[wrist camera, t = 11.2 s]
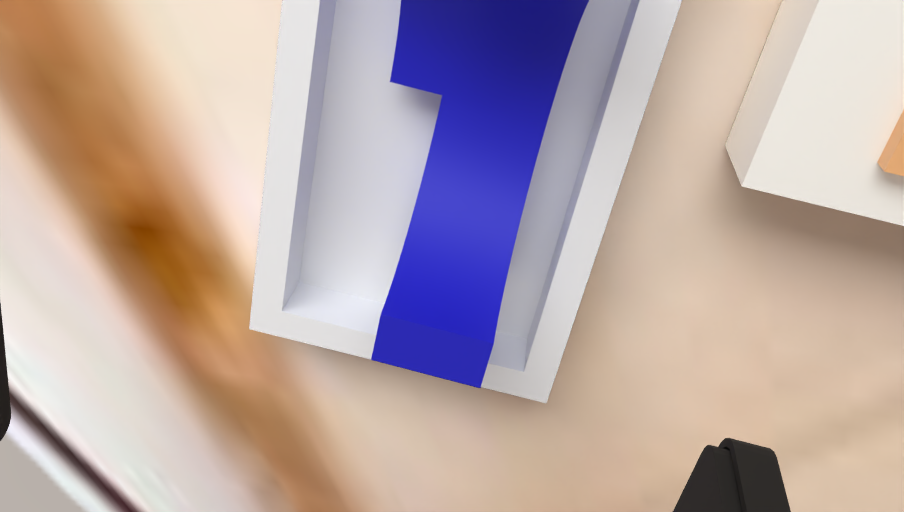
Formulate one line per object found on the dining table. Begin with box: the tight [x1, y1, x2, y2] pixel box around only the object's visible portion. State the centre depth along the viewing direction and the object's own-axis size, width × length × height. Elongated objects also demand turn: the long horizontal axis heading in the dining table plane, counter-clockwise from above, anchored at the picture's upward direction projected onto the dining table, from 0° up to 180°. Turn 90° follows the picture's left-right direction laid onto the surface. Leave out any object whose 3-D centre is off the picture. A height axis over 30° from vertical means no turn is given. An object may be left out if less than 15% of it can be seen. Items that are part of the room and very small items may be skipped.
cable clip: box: [371, 0, 589, 388], centre depth 22 cm, size 12×4×6 cm, turn 167°
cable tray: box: [249, 0, 682, 403], centre depth 24 cm, size 10×18×2 cm, turn 168°
